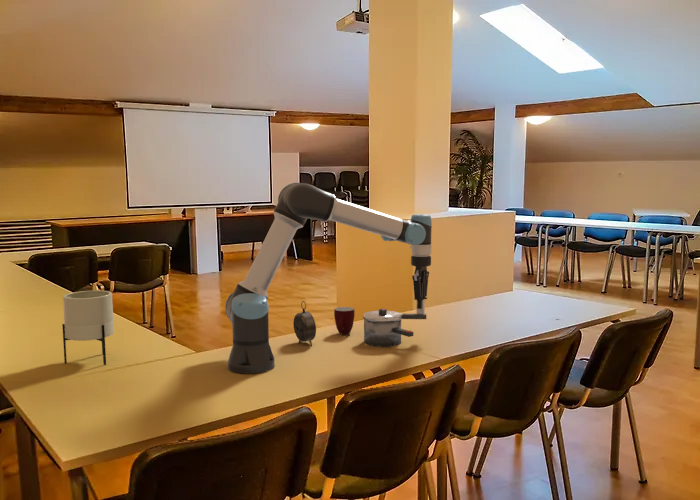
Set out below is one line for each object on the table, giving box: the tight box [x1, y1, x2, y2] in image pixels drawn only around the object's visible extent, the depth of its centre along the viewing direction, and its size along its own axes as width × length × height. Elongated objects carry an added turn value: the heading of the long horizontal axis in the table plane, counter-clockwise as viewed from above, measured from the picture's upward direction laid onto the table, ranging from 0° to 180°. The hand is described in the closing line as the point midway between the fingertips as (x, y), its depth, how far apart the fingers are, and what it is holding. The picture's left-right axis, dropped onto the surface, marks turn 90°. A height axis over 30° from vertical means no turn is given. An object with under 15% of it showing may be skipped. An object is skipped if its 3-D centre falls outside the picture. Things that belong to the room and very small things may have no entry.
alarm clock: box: [293, 301, 317, 347], centre depth 228 cm, size 11×5×16 cm, turn 31°
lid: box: [362, 308, 427, 322], centre depth 230 cm, size 15×24×3 cm, turn 86°
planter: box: [62, 289, 115, 366], centre depth 207 cm, size 15×16×23 cm
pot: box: [363, 318, 414, 348], centre depth 227 cm, size 14×23×9 cm, turn 36°
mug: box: [333, 306, 355, 336], centre depth 242 cm, size 10×8×10 cm
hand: (420, 316), depth 234 cm, fingers closed
